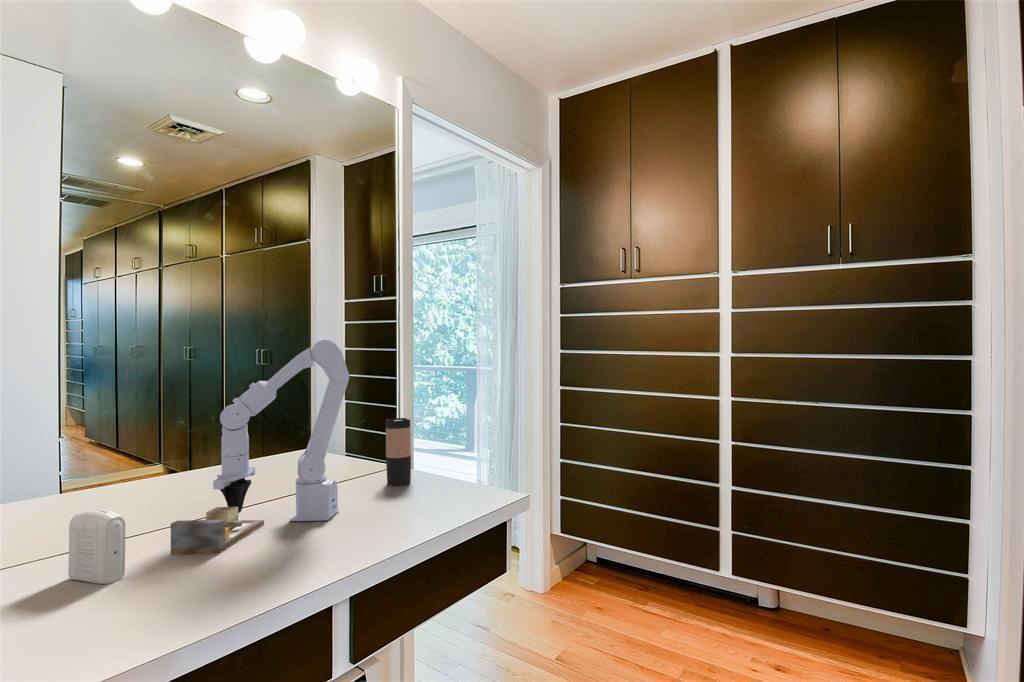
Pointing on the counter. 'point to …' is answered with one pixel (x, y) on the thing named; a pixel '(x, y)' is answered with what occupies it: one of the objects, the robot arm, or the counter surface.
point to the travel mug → (398, 451)
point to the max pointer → (226, 533)
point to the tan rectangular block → (225, 516)
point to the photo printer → (97, 546)
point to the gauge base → (207, 535)
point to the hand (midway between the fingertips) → (235, 512)
